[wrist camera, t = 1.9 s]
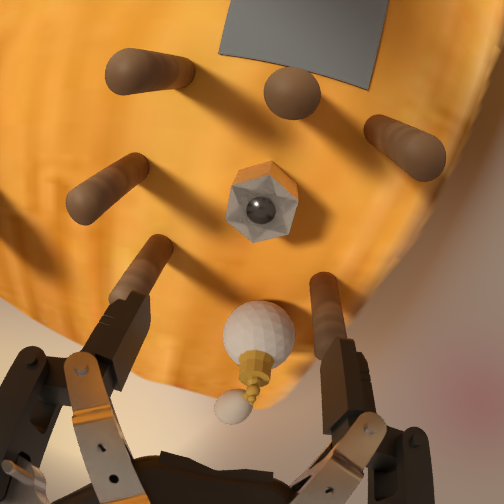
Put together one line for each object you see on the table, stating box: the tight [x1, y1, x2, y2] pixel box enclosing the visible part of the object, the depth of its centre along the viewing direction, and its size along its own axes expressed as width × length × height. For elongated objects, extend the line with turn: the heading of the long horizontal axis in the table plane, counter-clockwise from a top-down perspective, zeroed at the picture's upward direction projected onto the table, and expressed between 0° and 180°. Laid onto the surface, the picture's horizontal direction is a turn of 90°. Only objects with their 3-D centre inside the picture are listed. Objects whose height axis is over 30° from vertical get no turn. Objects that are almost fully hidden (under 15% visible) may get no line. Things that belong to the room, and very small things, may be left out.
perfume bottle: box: [214, 300, 296, 425], centre depth 28 cm, size 8×10×12 cm
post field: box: [66, 48, 446, 361], centre depth 21 cm, size 20×23×9 cm
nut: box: [225, 161, 299, 243], centre depth 24 cm, size 6×5×4 cm
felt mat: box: [218, 0, 389, 90], centre depth 17 cm, size 10×12×1 cm
